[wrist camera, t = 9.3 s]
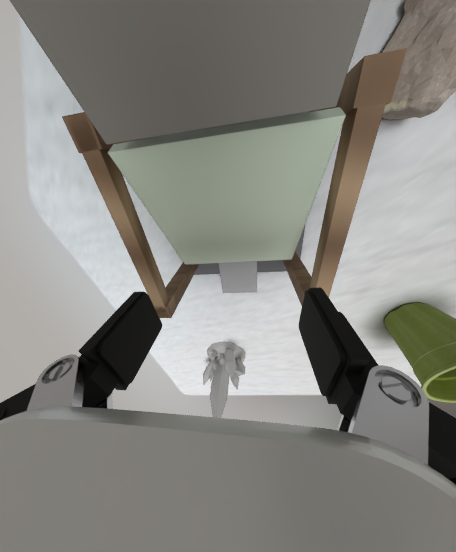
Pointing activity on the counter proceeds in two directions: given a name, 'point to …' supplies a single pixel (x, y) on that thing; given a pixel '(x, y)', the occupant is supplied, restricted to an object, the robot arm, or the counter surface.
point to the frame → (341, 200)
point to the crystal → (223, 372)
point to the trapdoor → (210, 108)
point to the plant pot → (427, 347)
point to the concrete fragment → (424, 58)
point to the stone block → (238, 276)
